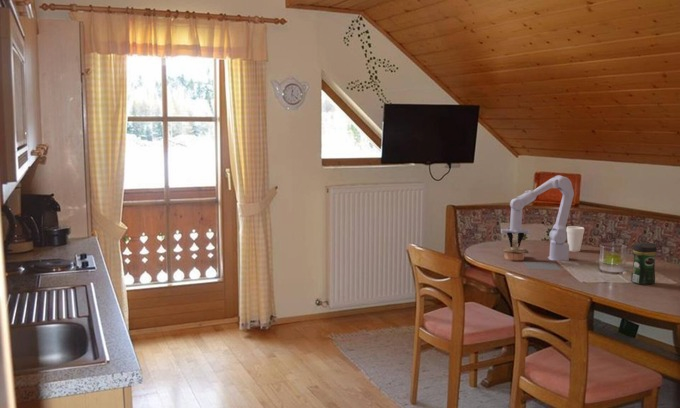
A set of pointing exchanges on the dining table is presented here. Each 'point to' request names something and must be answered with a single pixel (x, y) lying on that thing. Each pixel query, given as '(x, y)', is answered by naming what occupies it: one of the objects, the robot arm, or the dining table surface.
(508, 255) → the bowl
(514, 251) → the square tan board
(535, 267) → the mat
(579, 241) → the foam cup
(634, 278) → the coffee jar
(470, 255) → the dining table surface
